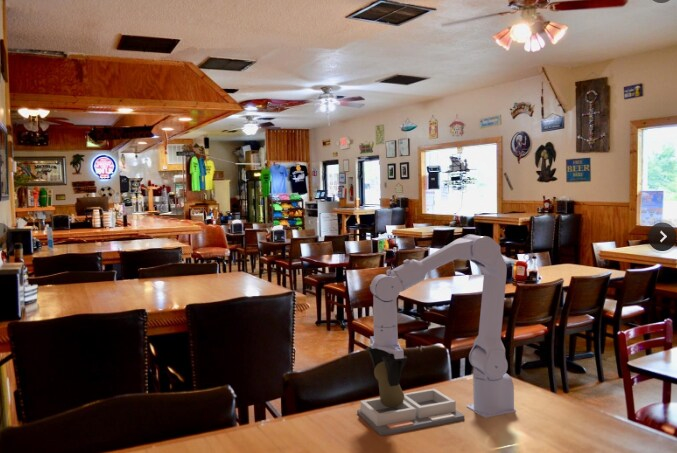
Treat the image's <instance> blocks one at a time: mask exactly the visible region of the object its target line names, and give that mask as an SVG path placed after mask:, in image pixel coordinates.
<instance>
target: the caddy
mask: <svg viewBox="0 0 677 453" xmlns="http://www.w3.org/2000/svg"><path fill="white" fill-rule="evenodd" d="M359 402H360V404H359V406H360V409H357V410H356V414H357V413H358V414H359V415H358V414H357V415H358V416H359V417H360V418H361V419H363V421H365V422H366V423H367V424H368V425H369V426H370V427H371V428H372V429H373V430H374V431H375V432H376V433H377V434H379V435H380V436H381V437H382V436H387V435H393V434H398V433H402V432H403V433H404V432H408V431H414V430H419V429H425V428H429V427H434V426H438V425H444V424H449V423H455V422H460V421H464V420H465V415H464V414H462V412H460V411H458V410H457V409H456V408H457V404H456V400H454V399H452V398H451V397H449V396H447V395H446V394H444V393H442V392H441V391H439V390H438V389H436V388H429V389H424V390H418V391H412V392H406V393H404V400H403V402H402V403H401V404H400V405H398V406H396V407H391V408H389V407H386V406H384V405H383V404H382V403H381V400H380V397H377V398H372V399H371V398H370V399H365V400H359Z"/></svg>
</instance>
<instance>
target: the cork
mask: <svg viewBox="0 0 677 453" xmlns="http://www.w3.org/2000/svg"><path fill="white" fill-rule="evenodd" d="M373 374H374V377H375V378H374V379H376V380H377V382H378V389H379V391H378V392H379V398H380V400H381V403H382V404H383V405H384V406H386V407H389V408H391V407H396V406H398V405H400V404H401V403H402V402H403V400H404V394H405V393H404V391H403V390H402V387H401V385H400V384H399V385H397V386H390V385H389V382H388V375H387V369H386V366H385V363H384V362H380V363H379V364H377V365H376V367H375V369H374V368H373Z"/></svg>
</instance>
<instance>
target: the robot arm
mask: <svg viewBox="0 0 677 453" xmlns="http://www.w3.org/2000/svg"><path fill="white" fill-rule="evenodd" d="M501 248H502V247H501V245H499V243H497V241H495V240H494V239H493V238H492V237H490V236H486V235H484V236H481V235H476V234H473V233H472V234H471V233H470V234H466V235H464V236H462V237H459V238H457V239H454V240H453V241H452V242H450V243H448V244H447V245H445V246H443V247H442V248H440V249H438V250H436V251H434V252H433V253H431V254H430V255H427V256H426V257H424V258H423V259H421V260H417V259H414V258H412V259H408V258H406V259H405V260H402V262H403V263H402V264H401V265H399V266H396V267H394V268H393V269H387V270H386V271H385V272H386V274H382V273H381V274H378V275H375V277H373V279H372V280H371V281H370V282H371V283H370V285H369V291H370V292H371V294H372V296H373V298H372V299H373V301H372V303H373V305H372V306H373V307H372V313H373V314H372V315H373V316H372V317H373V318H372V319H373V320H372V321H373V336H371V335H370V336H369V340H370V341H369V347H367V348H366V351H367V353H368V354H369V355H368V356H370V359H371V362H372V366H373V370H374V369H375V367H376V365H377V364H379V363H380V362H384V363H385V366H386V369H387V375H388V382H389V385H390V386H397V385H400V380H401V375H402V371H403V368H404V367H405V364H406V362H407V360H408V356H406V355H404V351H405V350H404V349H402V347H401V345H400V342H399V336H398V335H399V333H398V305H397V298H398V297H399V295H400V293H402V292H405V291H406V290H407V289H409V288H412V287H413V286H416V285H417V284H419V283H421V282H423V281H424V280H425V279H426V276H427V274H428V273H429V272H431V271H434V270H436V269H437V268H440V267H442V266H444V265H446V264H449V263H451V262H453V261H455V260H463V261H464V260H465V261H470V262H472V263H474V264H475V265H476V266H477V268H479V269H480V271H481V272H482V273H483V280H482V281H483V282H482V292H481V305H480V316H479V325H478V335H477V336H476V337H475V339H474V340H473V345H472V347H471V350H470V352H469V354H468V361H469V363H470V365H471V366H472V367H473V371H472V374H473V375H472V378H473V379H472V381H473V382H472V386H473V387H472V388H473V390H472V391H473V394H472V395H473V403H470V404H467V405H466V408H468V409H469V410H471V411H472V412H474V413H476V414H477V415H478V416H481V417H482V418H485V419H487V418H491V417H496V416H497V417H498V416H501V415H502V416H503V415H507V414H512V413H516V412H517V409H515V387H514V382H513V379H512V377H511V376H510V374H508V373H507V371H508V367H509V366H508V365H509V364H508V360H507V359H506V358H507V357H506V348H505V346H504V343H503V341H502V339H501V338H502V329H503V317H504V308H505V306H504V305H505V295H506V282H507V271H508V270H507V268H508V267H507V264H506V262H505V259H504V256H503V255H502V252H501ZM388 354H389V355H388Z"/></svg>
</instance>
